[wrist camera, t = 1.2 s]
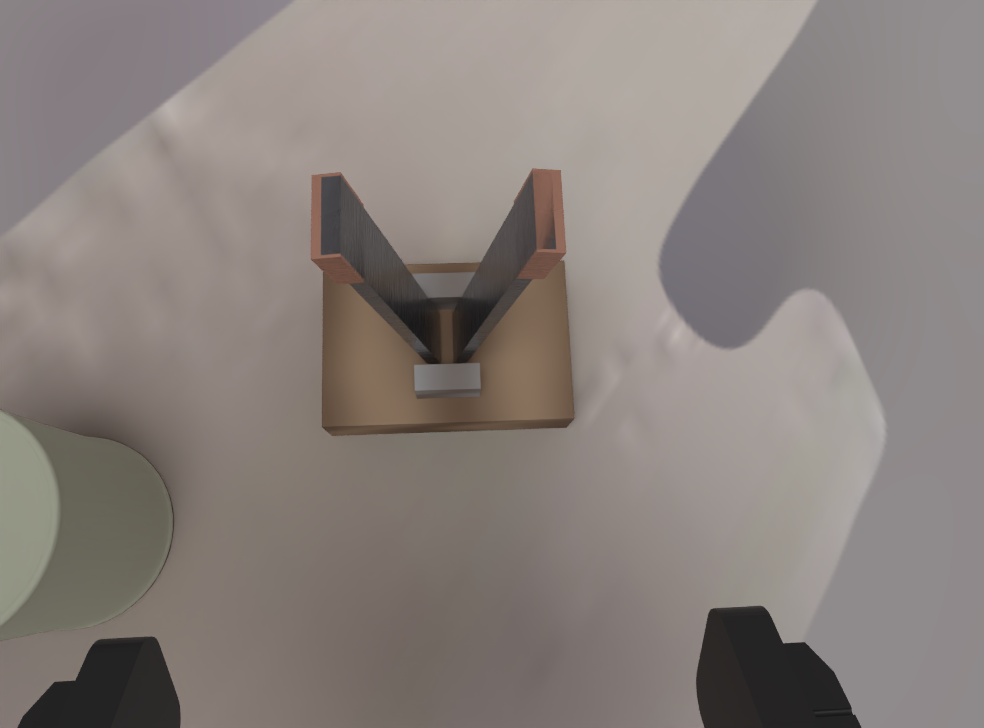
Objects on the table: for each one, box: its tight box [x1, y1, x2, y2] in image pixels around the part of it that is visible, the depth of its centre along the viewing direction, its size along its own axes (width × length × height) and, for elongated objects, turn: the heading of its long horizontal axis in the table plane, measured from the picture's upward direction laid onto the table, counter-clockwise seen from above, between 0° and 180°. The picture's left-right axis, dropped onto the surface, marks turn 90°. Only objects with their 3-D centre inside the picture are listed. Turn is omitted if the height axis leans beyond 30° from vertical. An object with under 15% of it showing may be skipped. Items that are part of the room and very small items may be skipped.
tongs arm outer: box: [452, 169, 566, 364], centre depth 31 cm, size 1×3×15 cm, turn 2°
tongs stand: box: [322, 261, 574, 436], centre depth 39 cm, size 12×8×5 cm, turn 92°
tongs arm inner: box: [311, 172, 441, 365], centre depth 31 cm, size 1×3×15 cm, turn 2°
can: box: [0, 409, 173, 641], centre depth 33 cm, size 9×9×12 cm
